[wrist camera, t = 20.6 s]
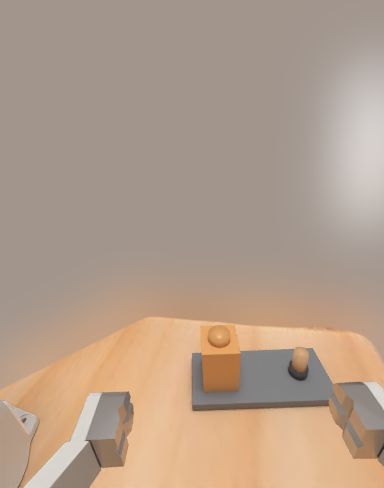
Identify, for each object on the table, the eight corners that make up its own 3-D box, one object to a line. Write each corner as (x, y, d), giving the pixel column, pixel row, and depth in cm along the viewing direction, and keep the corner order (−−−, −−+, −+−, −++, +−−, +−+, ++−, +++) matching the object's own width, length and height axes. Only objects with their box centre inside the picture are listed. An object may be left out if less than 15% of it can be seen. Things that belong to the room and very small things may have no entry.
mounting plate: (193, 410, 39) (190, 385, 36) (192, 358, 48) (190, 334, 46) (339, 405, 39) (348, 378, 36) (311, 353, 48) (316, 329, 45)
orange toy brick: (203, 392, 40) (201, 349, 36) (202, 361, 46) (200, 321, 42) (238, 390, 40) (240, 347, 36) (233, 360, 46) (234, 319, 41)
